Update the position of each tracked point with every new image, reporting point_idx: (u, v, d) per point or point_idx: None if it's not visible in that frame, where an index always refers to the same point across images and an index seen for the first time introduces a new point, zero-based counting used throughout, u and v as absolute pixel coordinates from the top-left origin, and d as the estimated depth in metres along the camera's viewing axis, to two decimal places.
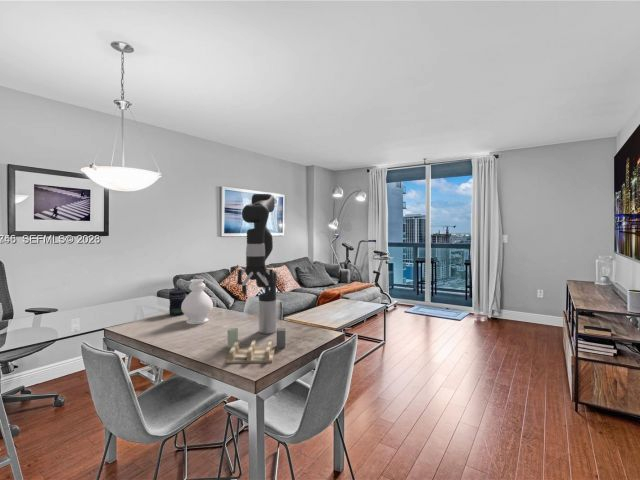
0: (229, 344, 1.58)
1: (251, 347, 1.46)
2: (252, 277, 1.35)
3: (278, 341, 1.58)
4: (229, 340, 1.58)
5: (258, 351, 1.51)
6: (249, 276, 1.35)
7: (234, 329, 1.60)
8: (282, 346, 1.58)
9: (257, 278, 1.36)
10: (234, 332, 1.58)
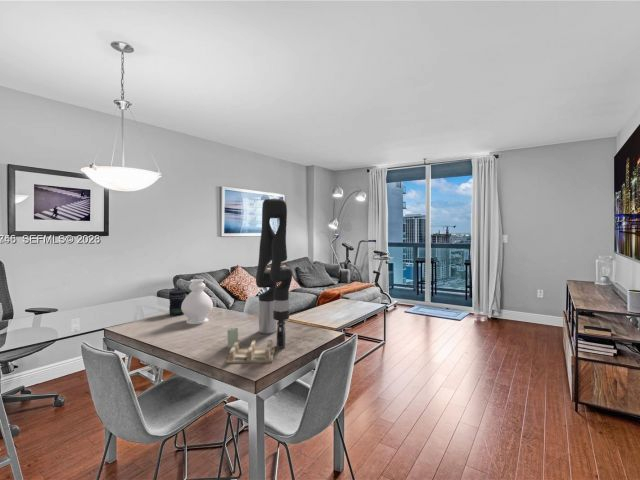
0: (229, 344, 1.58)
1: (251, 347, 1.46)
2: None
3: None
4: (229, 340, 1.58)
5: (258, 351, 1.51)
6: (284, 328, 1.58)
7: (234, 329, 1.60)
8: (282, 346, 1.58)
9: None
10: (234, 332, 1.58)
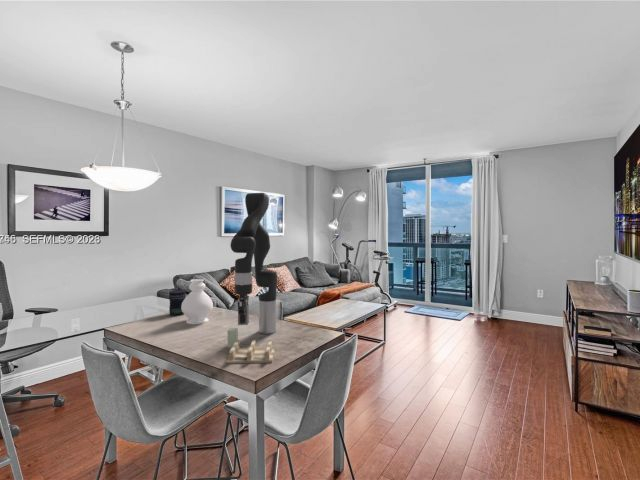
0: (229, 344, 1.58)
1: (251, 347, 1.46)
2: None
3: None
4: (229, 340, 1.58)
5: (258, 351, 1.51)
6: (246, 303, 1.45)
7: (234, 329, 1.60)
8: (244, 323, 1.45)
9: None
10: (234, 332, 1.58)
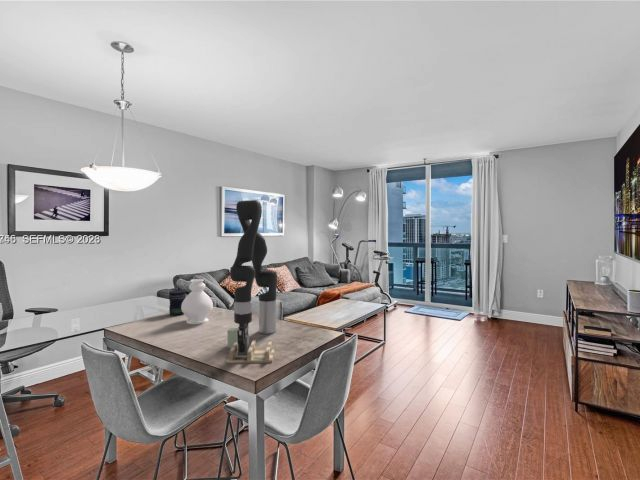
0: (229, 344, 1.58)
1: (251, 347, 1.46)
2: None
3: None
4: (229, 340, 1.58)
5: (258, 351, 1.51)
6: (246, 332, 1.45)
7: (234, 329, 1.60)
8: (244, 354, 1.46)
9: None
10: (234, 332, 1.58)
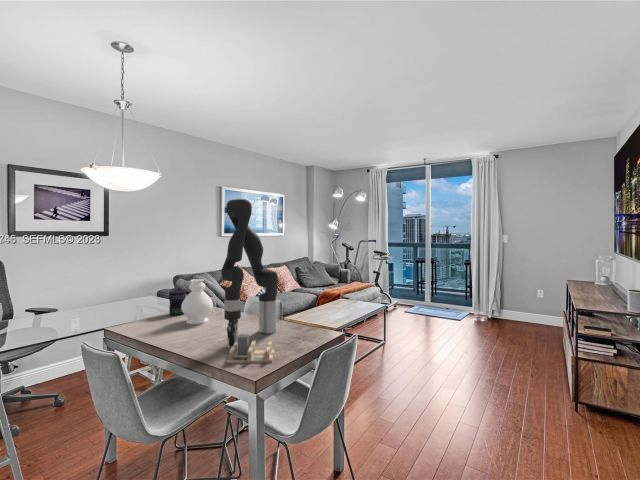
0: None
1: (251, 347, 1.46)
2: None
3: (239, 348, 1.45)
4: None
5: (258, 351, 1.51)
6: (235, 327, 1.58)
7: None
8: (244, 354, 1.46)
9: None
10: None
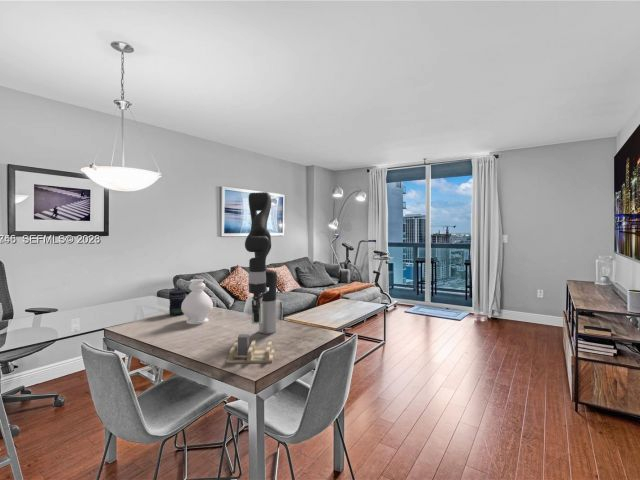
0: (253, 320, 1.46)
1: (251, 347, 1.46)
2: None
3: (239, 348, 1.45)
4: (253, 316, 1.45)
5: (258, 351, 1.51)
6: (260, 302, 1.46)
7: None
8: (244, 354, 1.46)
9: None
10: None
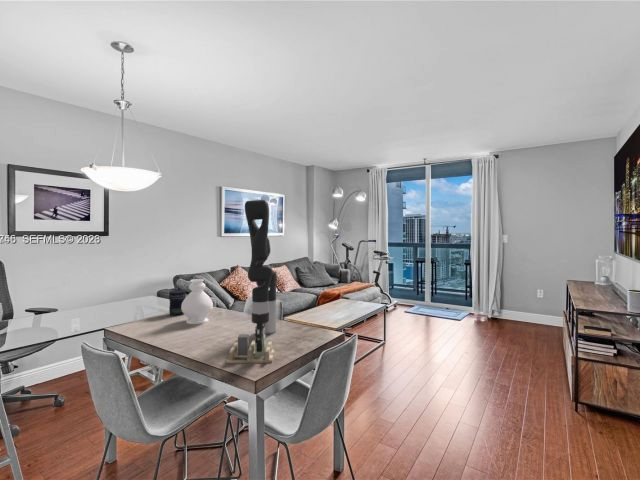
0: (257, 352, 1.46)
1: (251, 347, 1.46)
2: None
3: (239, 348, 1.45)
4: None
5: None
6: (263, 332, 1.45)
7: None
8: (244, 354, 1.46)
9: None
10: (262, 339, 1.46)
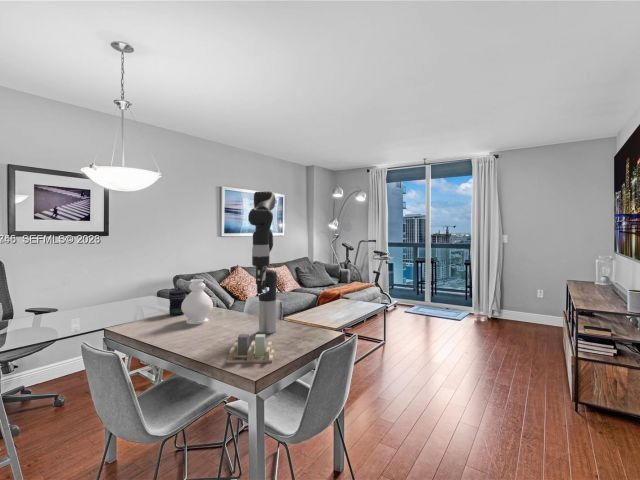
0: (257, 352, 1.46)
1: (251, 347, 1.46)
2: None
3: (239, 348, 1.45)
4: (257, 347, 1.46)
5: None
6: (264, 275, 1.46)
7: (262, 335, 1.47)
8: (244, 354, 1.46)
9: (263, 276, 1.49)
10: (262, 339, 1.46)
